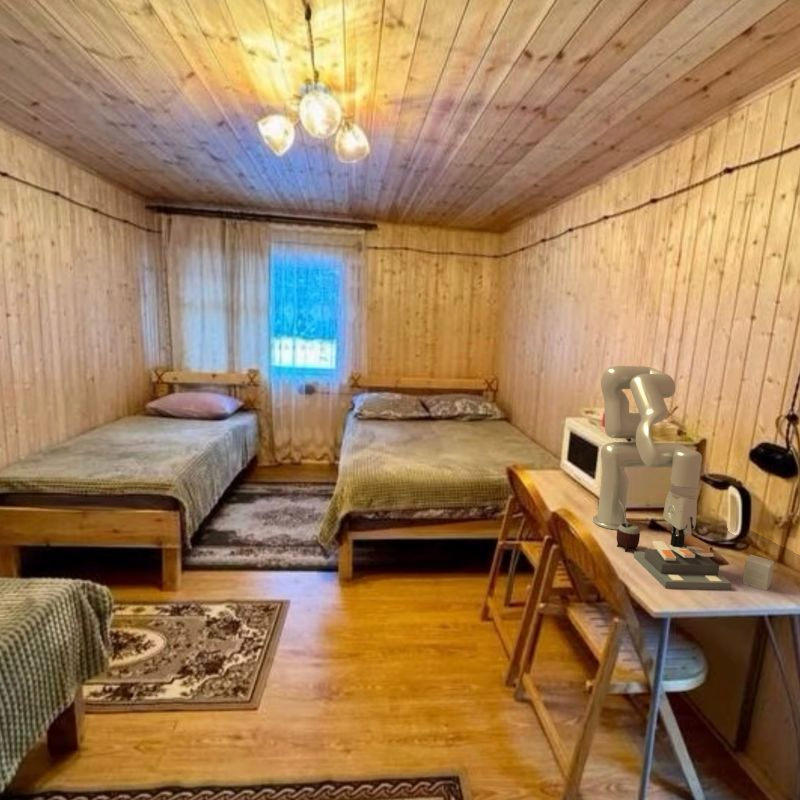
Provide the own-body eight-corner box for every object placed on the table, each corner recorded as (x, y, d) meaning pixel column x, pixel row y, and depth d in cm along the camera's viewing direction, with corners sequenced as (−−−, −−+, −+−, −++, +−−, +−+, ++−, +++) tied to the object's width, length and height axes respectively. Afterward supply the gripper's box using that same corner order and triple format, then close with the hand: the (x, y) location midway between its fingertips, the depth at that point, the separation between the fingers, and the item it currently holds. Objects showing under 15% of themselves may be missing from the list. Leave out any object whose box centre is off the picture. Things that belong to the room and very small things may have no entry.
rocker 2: (686, 553, 155) (686, 546, 155) (696, 553, 155) (696, 546, 155) (702, 559, 147) (702, 552, 147) (713, 560, 147) (713, 552, 147)
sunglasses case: (733, 565, 158) (725, 548, 157) (713, 575, 158) (705, 558, 157) (697, 540, 176) (690, 525, 175) (679, 550, 176) (672, 535, 175)
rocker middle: (669, 550, 155) (669, 544, 155) (679, 550, 155) (679, 544, 155) (683, 560, 147) (684, 553, 147) (694, 561, 147) (695, 554, 147)
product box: (747, 576, 151) (750, 553, 150) (771, 584, 147) (775, 561, 146) (741, 582, 147) (745, 559, 146) (766, 591, 143) (770, 567, 142)
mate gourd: (637, 555, 163) (642, 511, 161) (611, 549, 167) (615, 506, 165) (639, 546, 170) (643, 504, 168) (614, 541, 174) (618, 500, 171)
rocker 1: (651, 546, 155) (652, 540, 155) (661, 546, 155) (663, 540, 155) (664, 563, 148) (665, 557, 147) (674, 563, 148) (676, 557, 147)
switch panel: (633, 557, 162) (635, 542, 161) (691, 558, 162) (693, 544, 161) (665, 588, 143) (667, 571, 142) (730, 589, 143) (732, 573, 142)
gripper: (658, 482, 159) (652, 536, 161) (685, 498, 144) (678, 557, 147) (681, 482, 159) (675, 537, 162) (711, 498, 144) (703, 558, 147)
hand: (676, 546), depth 154 cm, fingers closed
